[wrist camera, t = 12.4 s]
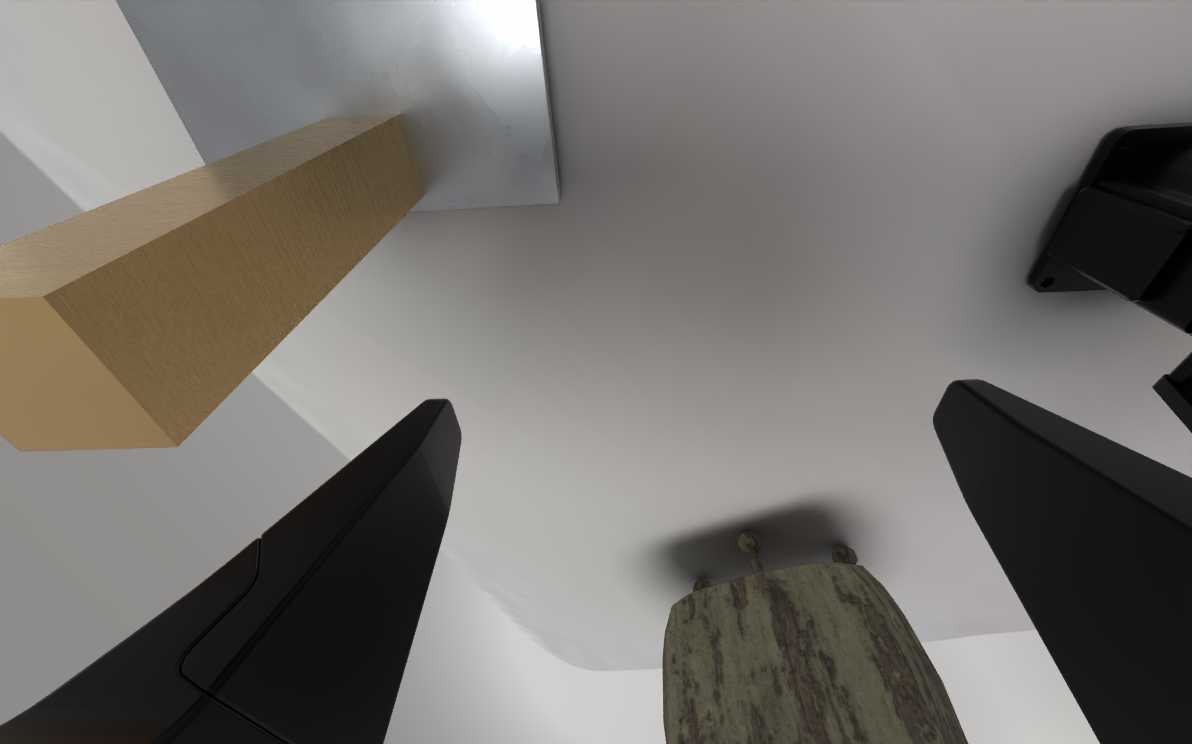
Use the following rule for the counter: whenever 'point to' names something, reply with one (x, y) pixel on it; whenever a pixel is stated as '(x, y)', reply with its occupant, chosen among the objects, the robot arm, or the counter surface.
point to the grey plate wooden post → (263, 200)
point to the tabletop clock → (800, 661)
